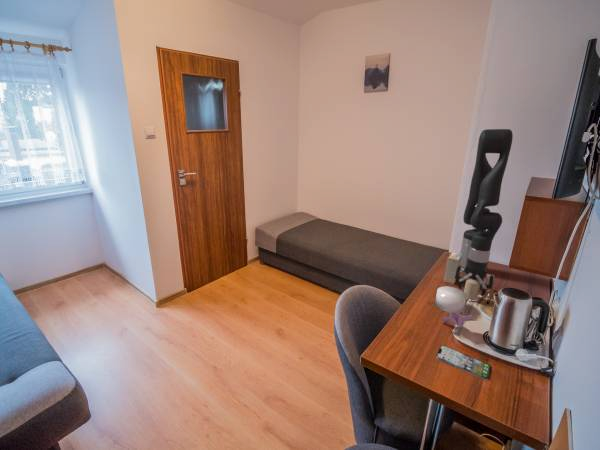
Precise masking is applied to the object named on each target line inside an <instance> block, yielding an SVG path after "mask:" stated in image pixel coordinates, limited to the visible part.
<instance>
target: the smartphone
mask: <svg viewBox="0 0 600 450" xmlns="http://www.w3.org/2000/svg"><path fill="white" fill-rule="evenodd" d="M435 358H436V359H437V361H440V362H442V363H445V364H447V365H449V366H450V367H451V366H452V367H455V368H456V369H459V370H460V371H461V370H462V371H464V372H466V373H468V374H471V375H473V376H476V377H478V378H480V379H483V380H485V381H486V380H487V381H488V380H489V379H490V375H491V372H492V371H491V369H492V365H491V364H490V363H488V362H486V361H483V360H480V359H478V358H476V357H473V356H471V355H469V354H466V353H463V352H461V351H459V350H456V349H453V348H452V347H448V346H446V345H443V344H441V345H439V349H438V351H437V354H436V357H435Z"/></svg>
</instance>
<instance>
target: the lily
mask: <svg viewBox="0 0 600 450" xmlns="http://www.w3.org/2000/svg"><path fill="white" fill-rule="evenodd" d="M440 319H442V323H445V324H447V323H452V324H454V325H456V326H457V327H458V337H459V336H460V337H461V331H460V326H461V325H463V326H464V324H465V322H469V321H470V322H471V321H472V322H473V321H474V322H475V321H478V319H476V318H473V315H472V314H471V315H462V313H457V312H455V311H452V312H451V313H449V316H444V317H440Z"/></svg>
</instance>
